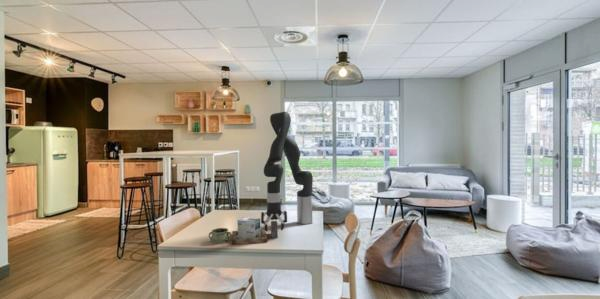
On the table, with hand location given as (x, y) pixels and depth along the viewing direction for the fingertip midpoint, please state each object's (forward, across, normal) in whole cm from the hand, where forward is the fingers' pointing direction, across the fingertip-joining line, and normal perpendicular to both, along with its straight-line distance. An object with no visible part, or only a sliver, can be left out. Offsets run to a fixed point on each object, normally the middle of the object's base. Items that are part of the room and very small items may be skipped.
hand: (274, 230), depth 171 cm
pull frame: (+3, +10, 0) cm, 11 cm away
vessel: (+4, +28, +2) cm, 29 cm away
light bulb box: (+4, +14, 0) cm, 14 cm away
